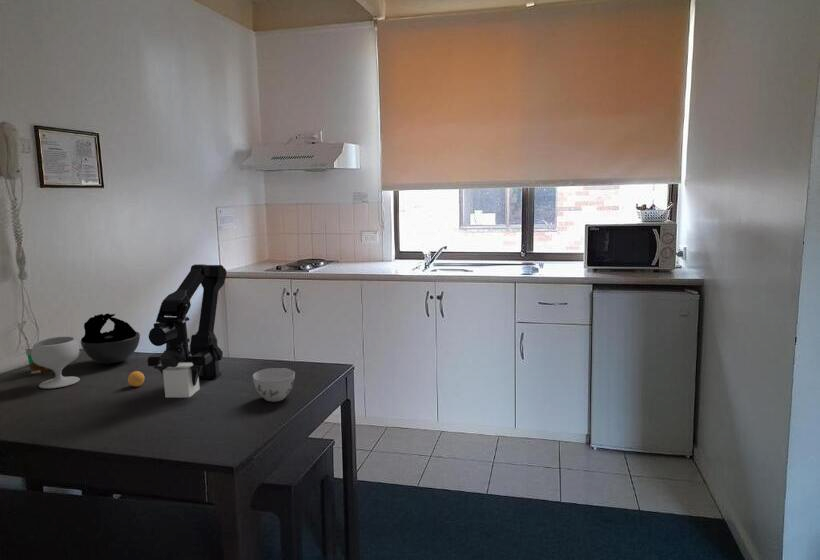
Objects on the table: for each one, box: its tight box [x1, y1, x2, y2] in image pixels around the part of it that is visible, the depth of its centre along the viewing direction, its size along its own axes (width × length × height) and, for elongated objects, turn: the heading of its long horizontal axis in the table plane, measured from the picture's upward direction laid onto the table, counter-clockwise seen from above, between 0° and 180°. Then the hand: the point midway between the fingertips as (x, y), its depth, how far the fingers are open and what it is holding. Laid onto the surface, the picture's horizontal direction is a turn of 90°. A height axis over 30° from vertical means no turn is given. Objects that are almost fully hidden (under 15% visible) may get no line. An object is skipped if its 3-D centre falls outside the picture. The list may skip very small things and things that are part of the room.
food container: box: [25, 348, 54, 376], centre depth 216 cm, size 12×6×10 cm, turn 179°
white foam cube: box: [162, 362, 201, 398], centre depth 188 cm, size 8×8×9 cm
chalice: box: [31, 336, 81, 389], centre depth 201 cm, size 14×14×15 cm
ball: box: [127, 370, 145, 388], centre depth 196 cm, size 5×5×5 cm
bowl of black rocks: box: [80, 313, 141, 365], centre depth 224 cm, size 20×20×19 cm
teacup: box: [252, 367, 296, 402], centre depth 182 cm, size 15×12×8 cm
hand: (182, 385), depth 188 cm, fingers closed on white foam cube, 8 cm apart
